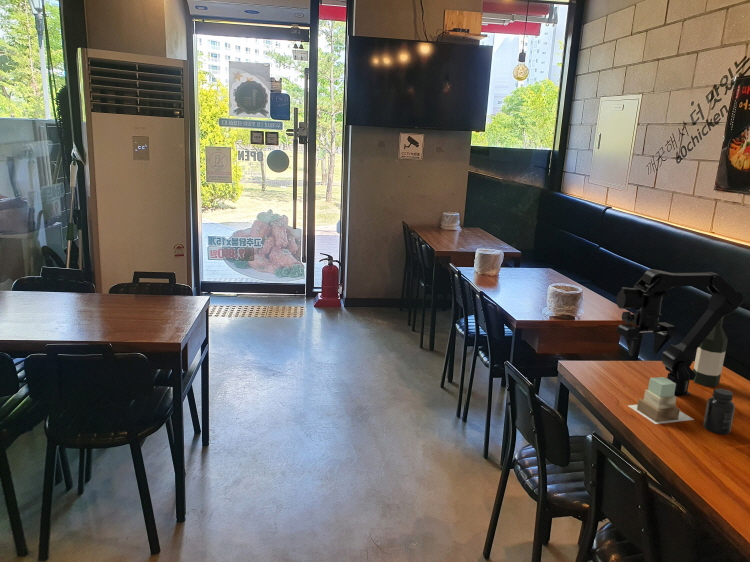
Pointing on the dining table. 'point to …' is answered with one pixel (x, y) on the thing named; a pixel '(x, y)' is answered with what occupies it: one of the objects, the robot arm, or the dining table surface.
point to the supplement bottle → (719, 412)
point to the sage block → (661, 387)
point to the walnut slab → (657, 412)
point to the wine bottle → (711, 357)
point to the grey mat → (681, 418)
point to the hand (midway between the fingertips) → (642, 354)
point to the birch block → (659, 400)
